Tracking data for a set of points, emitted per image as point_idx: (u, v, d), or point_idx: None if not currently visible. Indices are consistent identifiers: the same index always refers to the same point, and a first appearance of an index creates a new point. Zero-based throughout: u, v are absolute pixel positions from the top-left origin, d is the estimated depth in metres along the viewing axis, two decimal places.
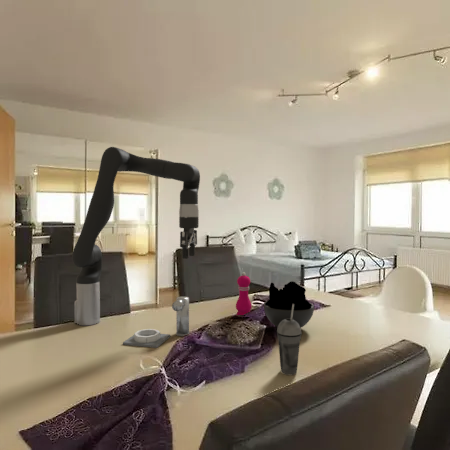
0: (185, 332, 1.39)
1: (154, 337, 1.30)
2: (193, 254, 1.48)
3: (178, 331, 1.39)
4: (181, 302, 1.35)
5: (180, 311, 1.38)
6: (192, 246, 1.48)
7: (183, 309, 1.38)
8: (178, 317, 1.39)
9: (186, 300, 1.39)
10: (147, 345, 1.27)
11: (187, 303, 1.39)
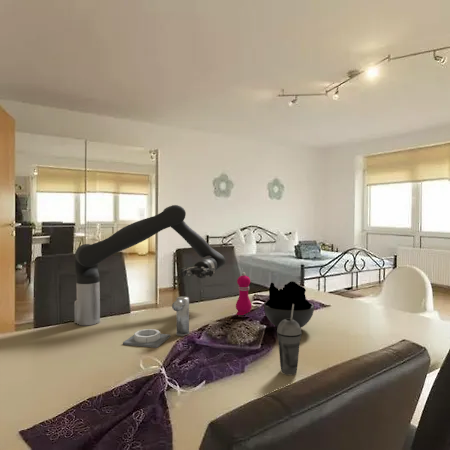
0: (185, 332, 1.39)
1: (154, 337, 1.30)
2: (183, 275, 1.52)
3: (178, 331, 1.39)
4: (181, 302, 1.35)
5: (180, 311, 1.38)
6: None
7: (183, 309, 1.38)
8: (178, 317, 1.39)
9: (186, 300, 1.39)
10: (147, 345, 1.27)
11: (187, 303, 1.39)
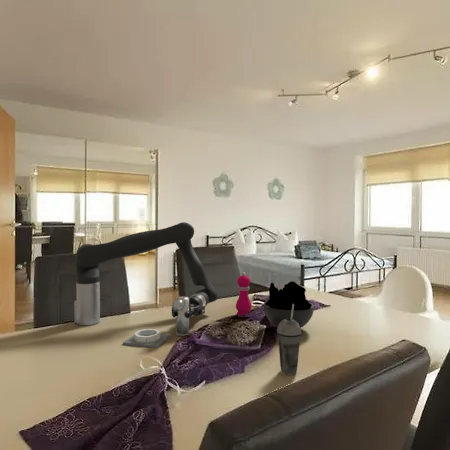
0: (185, 332, 1.39)
1: (154, 337, 1.30)
2: (174, 316, 1.39)
3: (178, 331, 1.39)
4: (181, 302, 1.35)
5: (180, 311, 1.38)
6: None
7: (183, 309, 1.38)
8: (178, 317, 1.39)
9: (186, 300, 1.39)
10: (147, 345, 1.27)
11: (187, 303, 1.39)
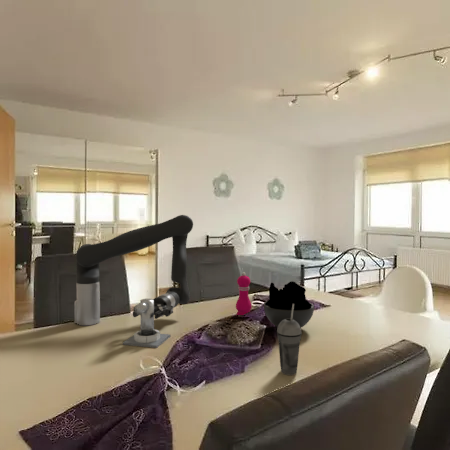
0: None
1: (154, 337, 1.30)
2: (135, 315, 1.33)
3: (142, 335, 1.32)
4: (144, 305, 1.28)
5: (144, 314, 1.31)
6: None
7: (147, 312, 1.31)
8: (142, 320, 1.31)
9: (150, 303, 1.31)
10: (147, 345, 1.27)
11: (151, 306, 1.32)
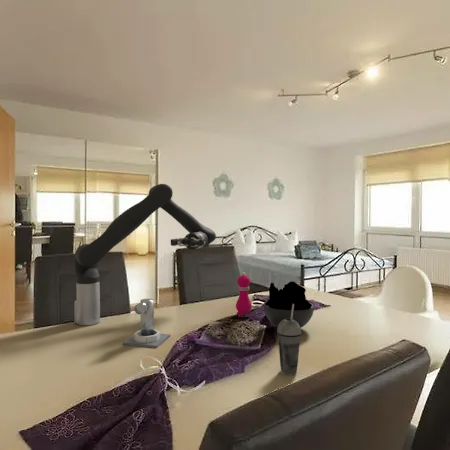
0: None
1: (154, 337, 1.30)
2: (173, 244, 1.52)
3: (142, 335, 1.32)
4: (144, 305, 1.28)
5: (144, 314, 1.31)
6: (176, 243, 1.55)
7: (147, 312, 1.31)
8: (142, 320, 1.32)
9: (150, 302, 1.31)
10: (147, 345, 1.27)
11: (151, 306, 1.32)
